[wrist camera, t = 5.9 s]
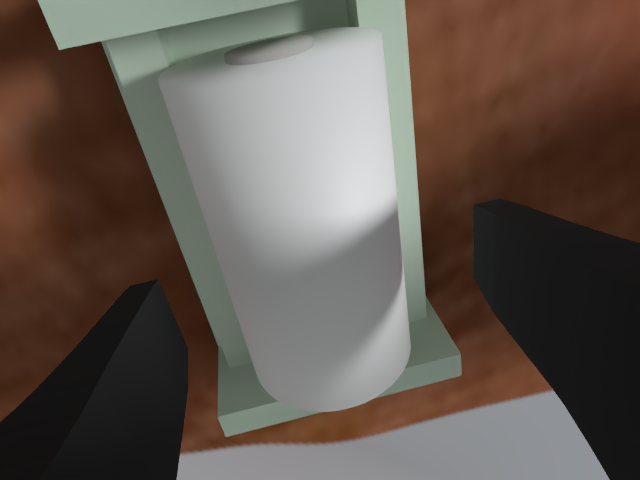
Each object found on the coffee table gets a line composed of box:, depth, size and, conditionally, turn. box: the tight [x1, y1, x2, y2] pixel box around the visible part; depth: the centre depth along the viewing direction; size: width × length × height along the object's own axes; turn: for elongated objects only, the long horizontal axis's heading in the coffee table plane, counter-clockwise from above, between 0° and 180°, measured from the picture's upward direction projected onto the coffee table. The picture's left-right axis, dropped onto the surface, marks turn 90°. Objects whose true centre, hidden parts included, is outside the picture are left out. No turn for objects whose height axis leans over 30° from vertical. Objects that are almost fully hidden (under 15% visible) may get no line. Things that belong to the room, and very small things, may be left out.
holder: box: [38, 0, 462, 437], centre depth 14 cm, size 13×8×4 cm, turn 10°
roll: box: [158, 27, 411, 412], centre depth 13 cm, size 9×5×5 cm, turn 10°
